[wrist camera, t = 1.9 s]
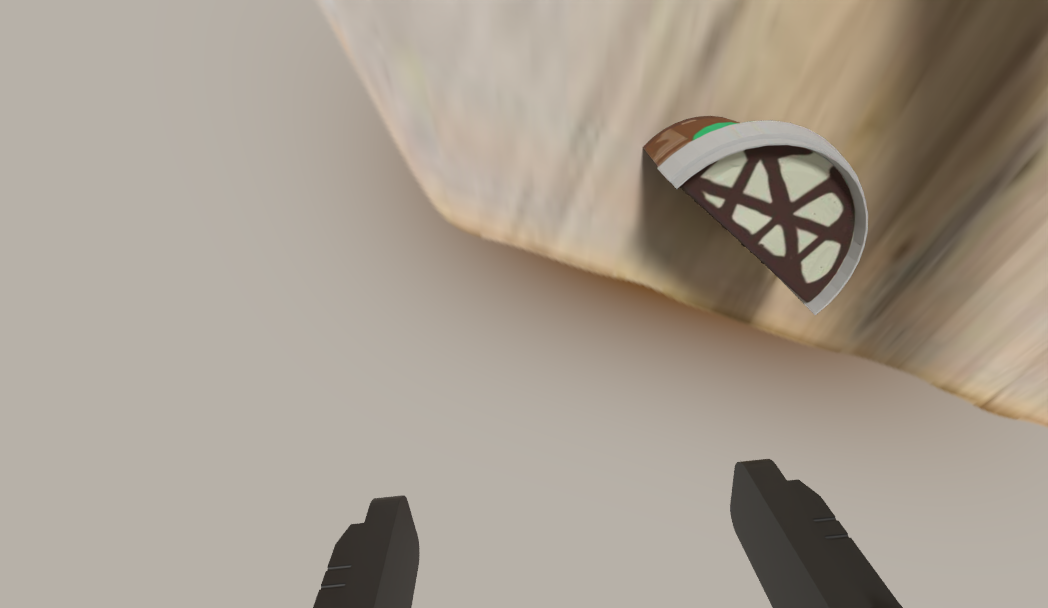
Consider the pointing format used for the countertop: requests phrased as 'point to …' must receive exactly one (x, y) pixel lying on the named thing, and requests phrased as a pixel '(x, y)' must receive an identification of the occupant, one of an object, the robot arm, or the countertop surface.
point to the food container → (773, 196)
